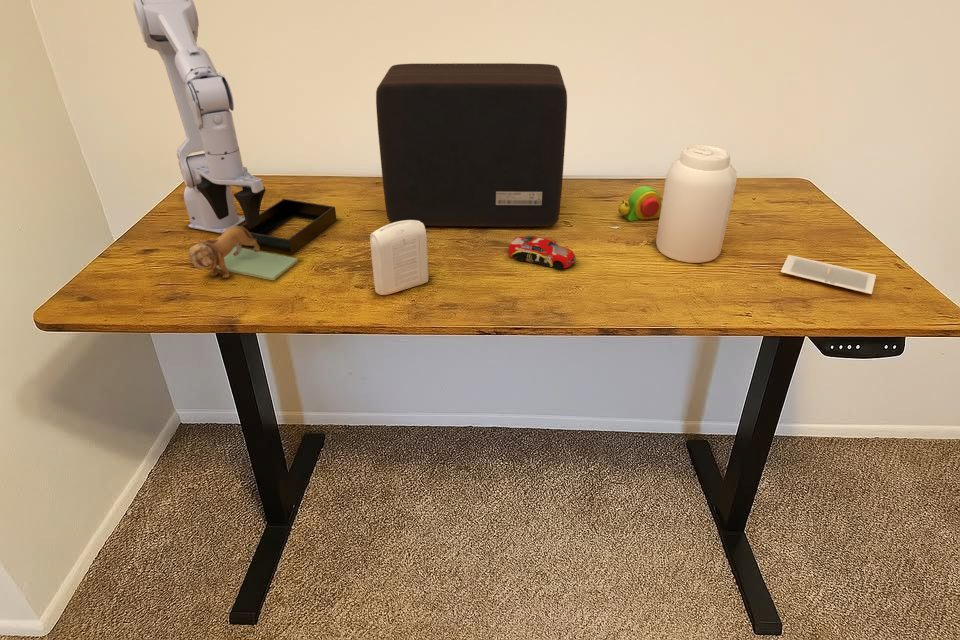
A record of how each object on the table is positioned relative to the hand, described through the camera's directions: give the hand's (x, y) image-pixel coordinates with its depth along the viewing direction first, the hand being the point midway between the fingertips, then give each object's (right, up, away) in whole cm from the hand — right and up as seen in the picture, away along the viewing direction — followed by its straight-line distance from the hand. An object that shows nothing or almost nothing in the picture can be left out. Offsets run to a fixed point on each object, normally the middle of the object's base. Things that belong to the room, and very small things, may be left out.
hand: (238, 221), depth 120 cm
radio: (+44, +5, +23) cm, 50 cm away
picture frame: (+5, 0, +15) cm, 16 cm away
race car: (+57, -7, +5) cm, 57 cm away
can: (+86, -5, +8) cm, 87 cm away
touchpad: (+108, -11, -1) cm, 109 cm away
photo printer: (+31, -12, -3) cm, 33 cm away
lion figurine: (-2, -8, +2) cm, 9 cm away
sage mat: (0, -7, +4) cm, 9 cm away
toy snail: (+84, +5, +22) cm, 87 cm away
